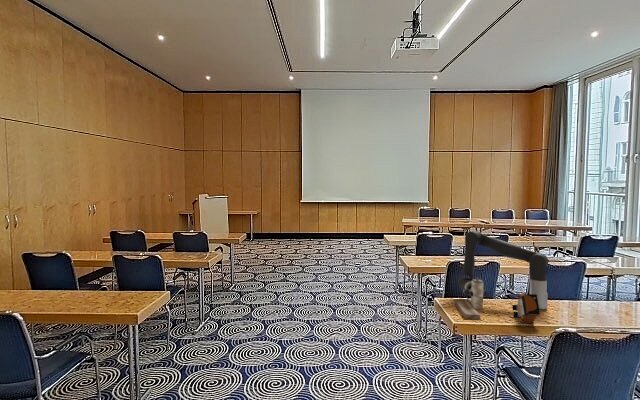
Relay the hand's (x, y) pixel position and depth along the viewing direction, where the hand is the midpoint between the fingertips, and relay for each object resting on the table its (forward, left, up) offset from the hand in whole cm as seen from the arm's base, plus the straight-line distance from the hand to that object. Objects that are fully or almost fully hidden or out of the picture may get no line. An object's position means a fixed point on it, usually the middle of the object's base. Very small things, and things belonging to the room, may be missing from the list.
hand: (478, 294), depth 258 cm
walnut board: (+8, +8, -9) cm, 14 cm away
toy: (-20, +22, -9) cm, 31 cm away
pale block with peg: (0, -2, -9) cm, 9 cm away
